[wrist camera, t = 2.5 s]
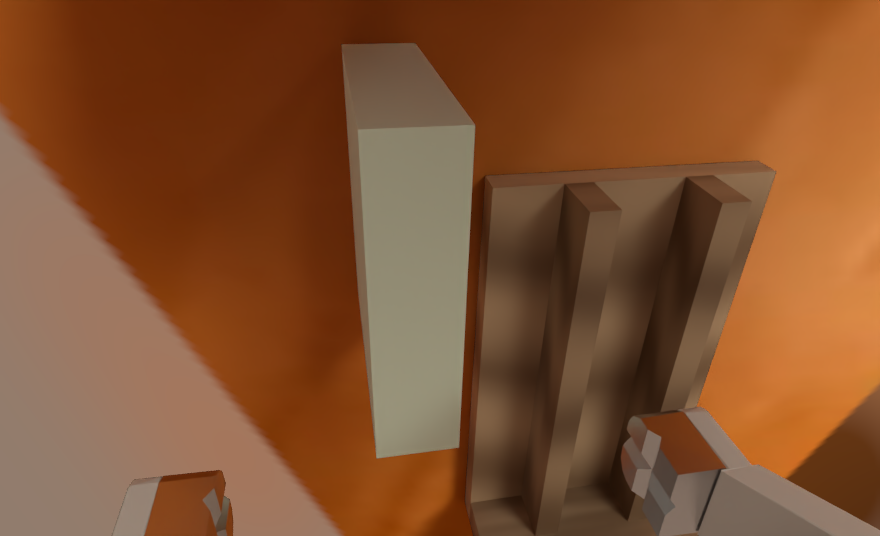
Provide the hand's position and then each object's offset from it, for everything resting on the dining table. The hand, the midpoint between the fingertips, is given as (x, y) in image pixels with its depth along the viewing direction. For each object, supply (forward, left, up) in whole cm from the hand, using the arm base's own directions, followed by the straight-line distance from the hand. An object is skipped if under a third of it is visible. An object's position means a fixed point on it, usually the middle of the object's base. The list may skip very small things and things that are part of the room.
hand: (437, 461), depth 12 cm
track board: (+10, +10, -13) cm, 19 cm away
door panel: (0, 0, -13) cm, 13 cm away
